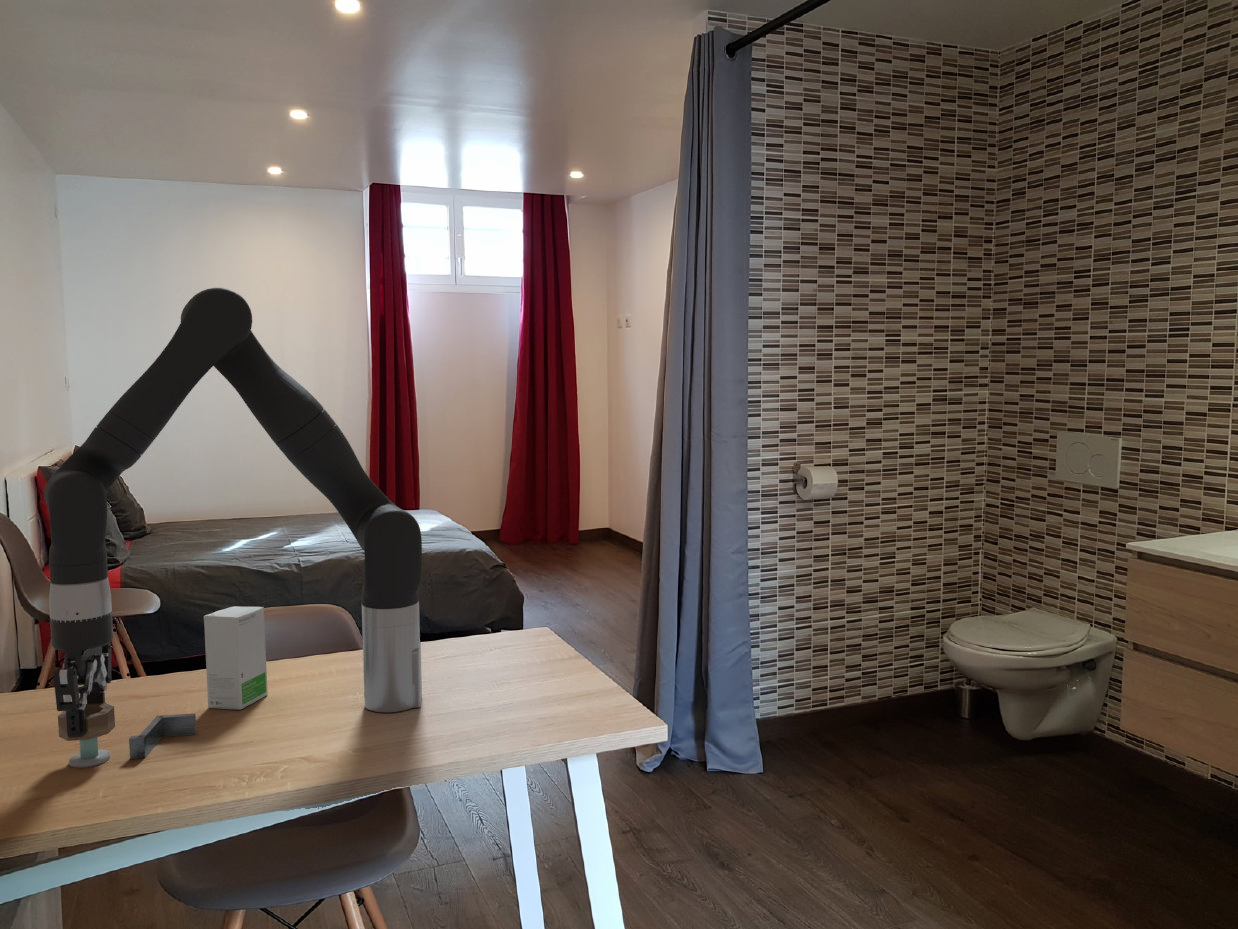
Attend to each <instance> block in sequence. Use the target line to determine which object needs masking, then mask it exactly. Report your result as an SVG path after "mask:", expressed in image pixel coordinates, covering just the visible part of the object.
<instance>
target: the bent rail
mask: <svg viewBox="0 0 1238 929" xmlns="http://www.w3.org/2000/svg"><path fill="white" fill-rule="evenodd" d="M196 722H197V721H196V713H181V714H164V715H163V714H161V715H156V716H155V717H154V718H153V720H152V721H151V722H150V723H149V724H148V725H147V726H146V728H144V729H143V731H142V732H140V734H139V735H131V736H130V737H129V738H128V743H129V744H128V745H129V747H128V748H129V760H135V759H146V758H147V756H148V755H149V754H150V753H151V752H152V751H153V749H154V748H155V747H156V746H157V744H158V743H159V742H160V741H161V740H162V739H163V738H166V737H179V736H180V737H181V736H195V734H197V723H196Z"/></svg>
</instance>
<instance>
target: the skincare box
mask: <svg viewBox="0 0 1238 929" xmlns="http://www.w3.org/2000/svg"><path fill="white" fill-rule="evenodd" d="M203 624H204V626H203V627H204V642H205V643H204V645H205V646H204V647H205V663H206V664H205V666H206V687H207V688H206V689H207V691H206V692H207V707H208V708H210V709H219V710H221V709H222V710H240V711H241V710H242V709H245V708H247V707H248V706H250V705H252V704H253V703H255V702H257V701H259V700H261V699H262V698H264V697H267V696H268V675H267V674H268V671H267V654H266V653H267V652H266V651H267V650H266V633H265V632H266V629H265V607H264V606H235V605H234V606H230V607H227V608H224V609H220V610H216V611H215V612H211V613H209V614H208V613H207V614H205V615H204V616H203Z"/></svg>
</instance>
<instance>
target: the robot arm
mask: <svg viewBox="0 0 1238 929" xmlns="http://www.w3.org/2000/svg"><path fill="white" fill-rule="evenodd" d="M252 326H253V314H252V310H251V307H250V306H249V304H248V302H247V301H246V299H245V298H244V297H243V296H242V295H241V294H239V293H237V292H236V291H234V290H232V289H229V288H226V287H225V288H224V287H211V288H206V289H204V290H201V291H199V292H198V293H195V294H194V295H193V296H192V297H191V298H190V299H189V300H188V301H187V303H186V304H185V305H184V306H183V308H182V311H181V315H180V323H179V325H178V327H177V328H176V331H175V332H174V334H173V336H172V338H171V339H170V340H169V341H168V343H167V344H166V346H165V347H164V348H163V350H162V351H161V353H160V354H159V355H158V356H157V357H156V359H155V360H153V363H152V364H150V366H149V367H148V368H147V369H146V370H145V371H144V372H143V373H142V374H141V376H140V377H139V378H138V379H137V380H136V381H134V382H133V383H132V384H131V386H130V387H129V388H128V389H126V391H125V392H124V393H123V394H122V395H121V396H120V397H119V399H118V400H117V401H116V402H115V403H114V404H113V405H112V407H111V408H110V409H109V410H108V411H107V412H106V414H105V415H104V416H103V417H102V418H101V419H100V421H99V422H98V423H97V425H96V426H95V427H94V428H93V429H92V431H91V433H90V434H89V435H88V437H87V438H86V440H85V441H84V442H83V443H82V444H81V445H80V446H79V447H78V448H77V449H76V450H75V451H73V453H72V454H71V455H70V456H69V457H68V458H66V459H65V461H64V462H63V463H62V464H61V465H60V466H59V467H58V468H57V470H55V472H54V473H53V474H52V475H51V477H50V478H49V479H48V481H47V482H46V484H45V487H44V490H43V498H44V502H45V504H46V506H47V508H48V516H49V517H48V518H49V525H50V526H49V527H50V540H51V544H50V547H49V551H48V552H49V553H48V566H49V567H48V568H49V569H48V570H49V582H50V584H49V585H50V586H49V587H50V588H49V596H48V604H49V605H48V607H49V624H50V640H51V641H50V642H51V643H50V644H51V646H52V648H53V649H54V650H57V651H62V652H63V653H64V654H65V655H64V661H63V664H62V668H57V669H56V668H55V669H54V670H53V673H52V674H53V685H54V686H53V687H54V695H55V703H56V710H57V712H63V711H66V720H67V735H68V736H69V737H82V736H84V735H85V734H86V710H85V706H86V704H97V703H106V696H105V695H106V694H105V692H106V691H107V690H108V684H111V683H112V644H111V642H112V641H113V639H114V629H113V628H114V626H113V608H112V592H111V587H110V586H111V585H110V581H109V575H108V574H109V572H108V552H107V546H106V534H107V524H108V523H107V521H108V499H107V498H108V497H107V492H108V490H109V489H110V488H111V487H112V486H113V485H114V483H115V482H116V481H117V479H119V477H120V476H121V475H122V474H123V472H125V471H127V470H128V469H130V468H131V467H133V466H134V465H135V464H136V463H137V462H138V461H139V460H140V459H141V457H142V456H143V454H144V453H146V451H147V450H148V448H149V447H150V446H151V445H152V444H153V443H154V441H155V440H156V438H157V437H158V436H159V435H160V433H161V432H162V431H163V430H164V428H165V426H166V425H167V424H168V423H169V422H170V419H172V417H173V415H174V414H175V413H176V412H177V410H178V409H179V407H180V406H181V405H182V403H183V402H184V400H185V399H186V398H187V397H188V395H189V394H190V392H191V391H192V390H193V389H194V388H195V386H196V385H197V384H198V383H199V382H200V380H202V379H203V377H205V375H206V374H207V373H208V372H209V371H210V370H211V369H212V368H214V369H216V370H217V371H218V372H219V373H220V375H222V376H223V378H224V379H226V380H227V382H228V383H229V384H230V385H231V386H232V387H233V388H234V389H235V391H236V392H237V393H238V395H239V396H240V398H241V400H243V402H244V404H245V405H246V406H247V408H248V409H249V411H250V413H251V414H252V415H253V416H254V417H255V419H256V420H257V422H258V423H259V425H260V426H261V427H262V428H263V430H264V431H265V432H266V434H267V435H268V436H269V438H270V439H271V440H272V442H273V443H274V444H275V445H276V447H278V449H279V450H280V451H281V452H282V453H283V455H284V456H285V458H287V460H288V461H289V462H290V463H291V464H292V465H293V466H294V467H295V469H297V470H298V472H299V473H301V475H302V476H303V477H304V478H305V479H307V480H308V482H309V483H310V484H311V485H312V486H314V488H316V489H317V490H318V491H319V492H320V493H321V494H322V495H323V496H324V497H325V498H326V499H327V500H328V501H329V502H330V503H331V504H332V506H333V507H334V508H335V509H336V511H337V513H338V514H339V515H340V517H341V518H342V520H343V521H344V523H345V524H346V525H347V527H348V528H349V530H350V532H351V533H352V535H353V536H354V538H355V540H356V542H357V544H358V546H360V548H361V549H362V551H363V552H364V581H363V582H364V583H363V586H362V588H361V591H360V592H361V593H360V594H361V623H362V626H361V628H362V660H363V665H362V666H363V685H364V686H363V697H364V707H365V709H367V710H369V711H371V712H372V711H373V712H375V713H376V712H377V713H396V712H403V711H407V710H410V709H414V708H415V709H417V708H421V705H422V697H423V681H422V651H421V650H422V643H421V640H420V637H421V634H420V633H421V632H420V589H421V586H422V579H423V569H422V568H423V546H422V545H423V542H422V541H423V540H422V538H423V537H422V531H421V528H420V525H419V522H418V521H417V519H416V518H415V517H414V516H413V515H412V514H411V513H409V512H408V511H406V510H405V509H402V508H400V507H399V506H398V505H396V504H395V503H394V502H392V500H390V499H389V498H388V496H387V495H385V494H384V492H382V490H381V489H380V488H379V487H378V485H376V484H375V482H373V480H372V479H371V477H369V476H368V474H367V473H366V471H365V470H364V467H363V466H362V465H361V463H360V461H359V459H358V457H357V455H356V453H355V451H354V449H353V448H352V446H351V444H350V442H349V440H348V439H347V437H346V436H345V434H344V433H343V431H342V430H341V428H340V427H339V425H338V424H337V423H336V421H335V420H334V419H333V418H332V417H331V415H330V414H329V413H328V412H327V410H326V409H325V408H324V406H323V405H322V404H321V403H320V402H319V401H318V399H317V398H315V397H314V395H312V394H311V393H310V392H309V391H308V389H306V388H305V387H304V386H302V385H301V384H300V382H298V381H297V380H295V379H294V378H293V377H292V376H291V375H289V374H288V372H287V371H285V370H284V369H282V367H280V366H279V365H278V364H277V363H276V362H275V361H274V360H273V359H272V358H271V357H270V355H269V354H268V353H267V351H266V349H265V348H264V347H263V346H262V344H261V343H260V341H259V340H258V339H257V337H256V335H255V334H254V333H253V331H252Z"/></svg>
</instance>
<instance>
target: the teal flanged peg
mask: <svg viewBox="0 0 1238 929" xmlns="http://www.w3.org/2000/svg"><path fill="white" fill-rule="evenodd" d="M98 740H99V737H96V738H92V739H89V740H79V751H80V752H78V753H76V754H74V755H72V756H71V757H70V758H69V759H68V764H69V765H68V766H69V767H71V768H74V769H84V768H85V769H86V768H91V767H95V766H99V765H102V764H103V763H105V762H107V761H109V759H110V755H111V754H110V751H109V750H107V749H102V748H101V749H100V748H99V741H98Z"/></svg>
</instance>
